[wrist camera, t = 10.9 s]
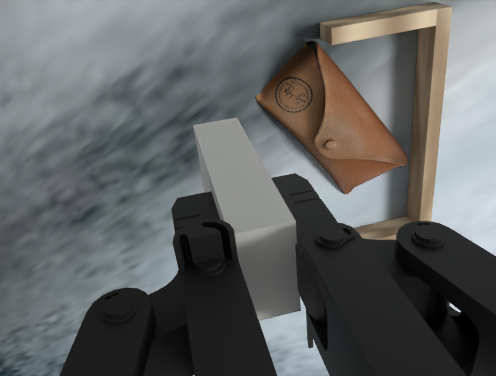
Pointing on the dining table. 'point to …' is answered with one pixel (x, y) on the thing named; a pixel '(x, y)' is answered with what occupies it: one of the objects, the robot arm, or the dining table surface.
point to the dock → (425, 98)
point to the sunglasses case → (331, 119)
